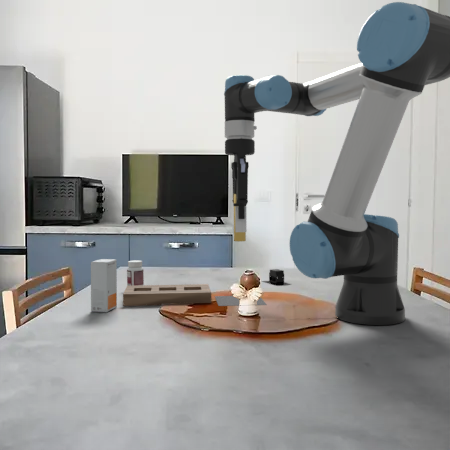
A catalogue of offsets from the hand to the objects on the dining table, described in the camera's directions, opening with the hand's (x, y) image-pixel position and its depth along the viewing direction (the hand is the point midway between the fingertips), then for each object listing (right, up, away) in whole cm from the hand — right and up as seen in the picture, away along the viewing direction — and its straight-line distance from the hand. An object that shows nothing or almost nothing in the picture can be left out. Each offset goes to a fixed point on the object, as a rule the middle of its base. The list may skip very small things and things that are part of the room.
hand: (240, 231), depth 136 cm
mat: (0, -18, +1) cm, 18 cm away
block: (-19, -18, +3) cm, 26 cm away
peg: (0, -2, 0) cm, 2 cm away
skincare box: (-33, -19, -7) cm, 39 cm away
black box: (+12, -17, +30) cm, 37 cm away
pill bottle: (-30, -17, +18) cm, 39 cm away
